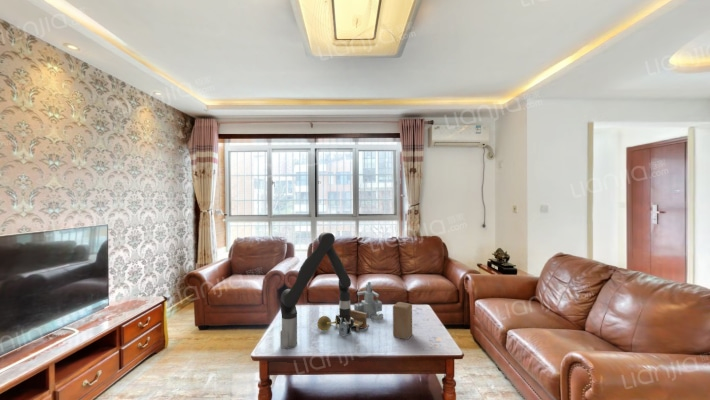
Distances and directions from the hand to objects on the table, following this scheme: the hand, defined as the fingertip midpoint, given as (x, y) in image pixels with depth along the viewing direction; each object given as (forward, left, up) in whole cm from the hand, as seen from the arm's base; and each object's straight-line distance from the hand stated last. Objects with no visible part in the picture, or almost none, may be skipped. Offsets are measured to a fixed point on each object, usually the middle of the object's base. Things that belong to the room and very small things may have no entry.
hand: (345, 332), depth 190 cm
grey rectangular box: (0, 0, -1) cm, 1 cm away
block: (+17, -34, -1) cm, 38 cm away
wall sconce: (+5, +20, 0) cm, 21 cm away
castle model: (+32, +1, -1) cm, 32 cm away
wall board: (+12, +2, -1) cm, 13 cm away
